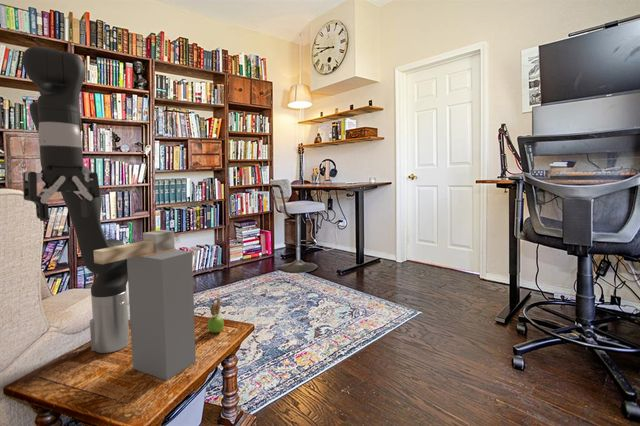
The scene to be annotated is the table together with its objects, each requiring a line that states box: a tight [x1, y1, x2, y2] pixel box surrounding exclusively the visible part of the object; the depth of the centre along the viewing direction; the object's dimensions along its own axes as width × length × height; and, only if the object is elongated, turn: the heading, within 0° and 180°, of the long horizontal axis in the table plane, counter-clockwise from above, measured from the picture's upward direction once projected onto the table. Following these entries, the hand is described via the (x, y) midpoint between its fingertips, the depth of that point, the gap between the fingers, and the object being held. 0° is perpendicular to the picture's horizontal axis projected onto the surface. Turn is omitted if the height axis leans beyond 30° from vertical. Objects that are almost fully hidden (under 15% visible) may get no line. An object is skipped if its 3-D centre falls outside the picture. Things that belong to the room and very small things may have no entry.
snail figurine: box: [206, 293, 225, 334], centre depth 117 cm, size 5×6×12 cm
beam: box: [93, 229, 176, 264], centre depth 89 cm, size 20×5×5 cm, turn 155°
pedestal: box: [127, 248, 197, 381], centre depth 95 cm, size 10×13×32 cm
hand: (66, 218), depth 77 cm, fingers open, 8 cm apart
